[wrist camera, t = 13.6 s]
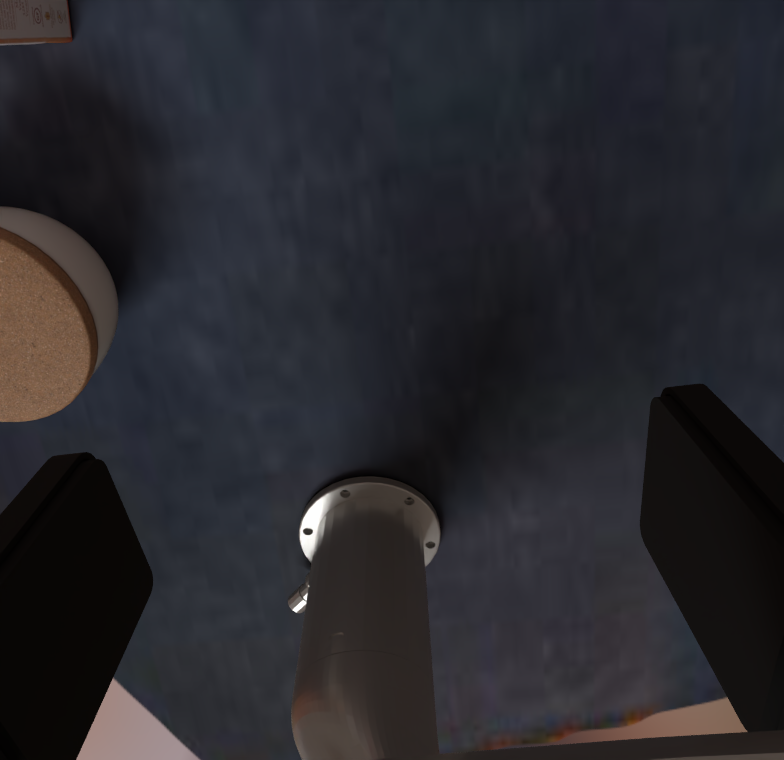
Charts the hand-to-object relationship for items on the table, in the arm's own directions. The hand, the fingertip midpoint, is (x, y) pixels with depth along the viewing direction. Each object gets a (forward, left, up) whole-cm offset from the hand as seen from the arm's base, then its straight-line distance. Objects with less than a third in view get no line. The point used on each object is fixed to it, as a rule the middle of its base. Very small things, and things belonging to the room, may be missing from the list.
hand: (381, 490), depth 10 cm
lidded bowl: (-21, +13, -32) cm, 40 cm away
